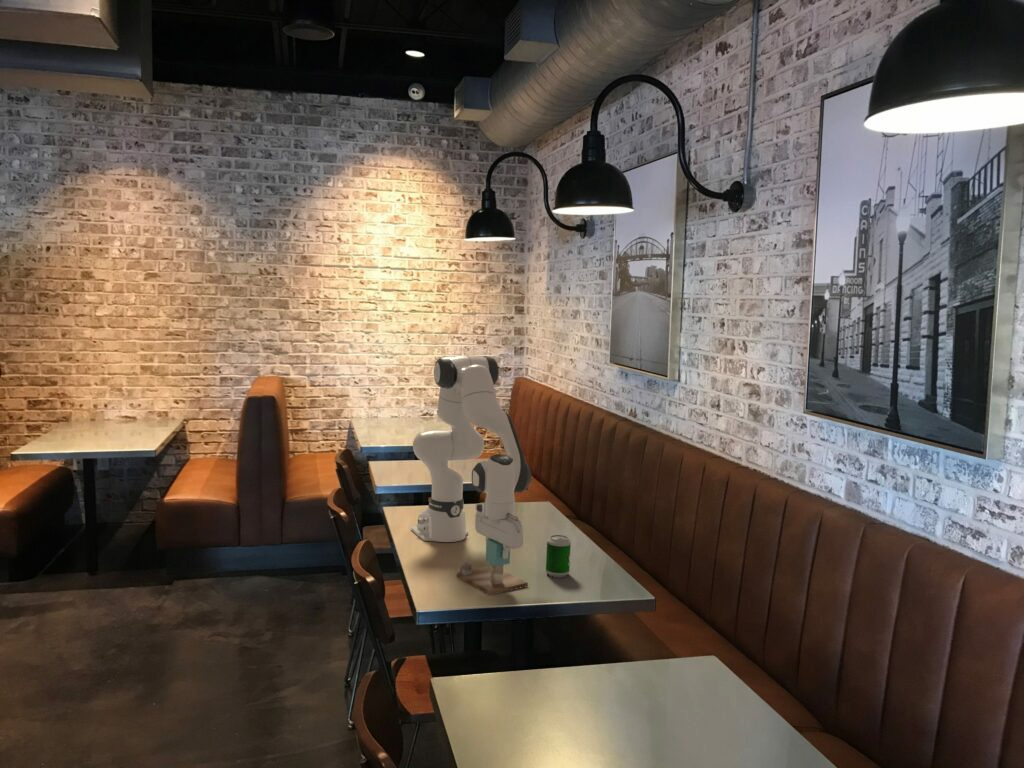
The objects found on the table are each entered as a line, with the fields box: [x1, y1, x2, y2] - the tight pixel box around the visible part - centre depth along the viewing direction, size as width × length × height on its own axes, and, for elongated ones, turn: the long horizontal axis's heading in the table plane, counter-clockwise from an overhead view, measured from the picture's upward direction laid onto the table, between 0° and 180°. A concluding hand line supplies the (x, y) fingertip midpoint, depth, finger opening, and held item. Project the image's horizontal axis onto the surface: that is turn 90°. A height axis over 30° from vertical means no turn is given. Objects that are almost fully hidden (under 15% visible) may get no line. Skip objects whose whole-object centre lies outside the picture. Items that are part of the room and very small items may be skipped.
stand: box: [456, 562, 529, 595], centre depth 247 cm, size 18×14×7 cm
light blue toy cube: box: [485, 539, 511, 566], centre depth 242 cm, size 5×5×7 cm
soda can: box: [545, 534, 572, 578], centre depth 256 cm, size 8×8×12 cm
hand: (497, 554), depth 242 cm, fingers closed on light blue toy cube, 5 cm apart
